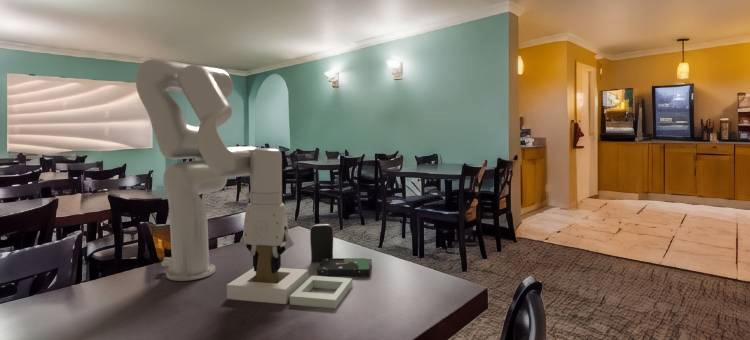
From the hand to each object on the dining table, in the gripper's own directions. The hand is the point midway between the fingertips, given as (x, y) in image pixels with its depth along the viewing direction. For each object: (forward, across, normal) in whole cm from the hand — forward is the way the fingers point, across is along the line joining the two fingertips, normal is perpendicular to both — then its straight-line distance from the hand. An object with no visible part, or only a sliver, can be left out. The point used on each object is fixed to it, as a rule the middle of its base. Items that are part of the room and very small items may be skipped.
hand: (266, 269), depth 103 cm
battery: (+5, +5, +26) cm, 27 cm away
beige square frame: (+5, +1, 0) cm, 5 cm away
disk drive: (+6, +15, +18) cm, 24 cm away
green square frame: (+5, +15, 0) cm, 16 cm away
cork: (+4, 0, 0) cm, 4 cm away
